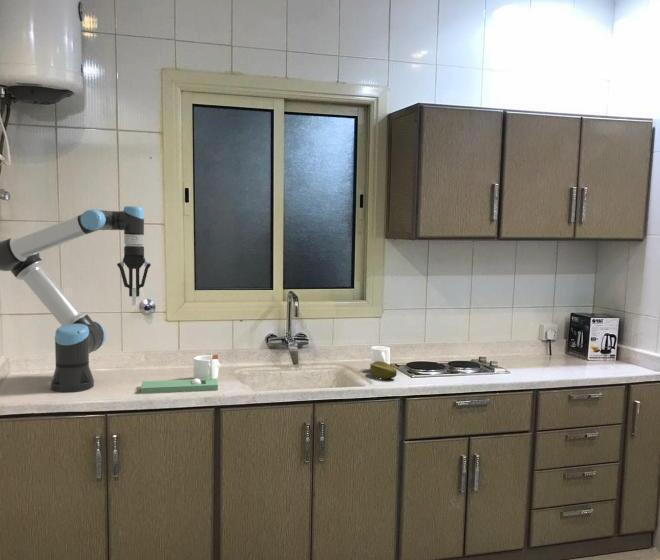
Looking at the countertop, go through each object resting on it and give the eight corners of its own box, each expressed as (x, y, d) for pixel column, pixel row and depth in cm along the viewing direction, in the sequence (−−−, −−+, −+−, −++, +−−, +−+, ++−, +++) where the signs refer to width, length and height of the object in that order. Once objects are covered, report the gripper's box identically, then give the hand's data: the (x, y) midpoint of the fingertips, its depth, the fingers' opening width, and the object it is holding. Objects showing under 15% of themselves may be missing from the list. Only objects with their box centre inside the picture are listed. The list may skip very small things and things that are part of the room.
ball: (189, 382, 228) (198, 378, 229) (189, 380, 231) (198, 375, 232) (194, 390, 229) (202, 386, 229) (193, 388, 232) (202, 383, 233)
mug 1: (224, 382, 240) (224, 360, 239) (198, 385, 235) (198, 362, 234) (215, 375, 250) (215, 354, 249) (191, 378, 245) (191, 356, 245)
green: (141, 393, 221) (140, 361, 220) (142, 386, 230) (142, 355, 229) (219, 389, 228) (219, 359, 227) (217, 383, 238) (217, 353, 237)
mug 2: (392, 374, 259) (393, 351, 258) (373, 374, 258) (374, 351, 257) (387, 368, 271) (388, 346, 270) (369, 368, 270) (370, 345, 269)
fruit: (369, 380, 249) (369, 364, 248) (369, 373, 261) (370, 358, 260) (396, 381, 248) (397, 365, 247) (395, 374, 260) (396, 359, 259)
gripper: (115, 245, 231) (116, 306, 233) (150, 246, 234) (151, 305, 236) (117, 245, 238) (117, 303, 240) (151, 245, 242) (151, 303, 243)
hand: (134, 304), depth 238 cm, fingers closed
